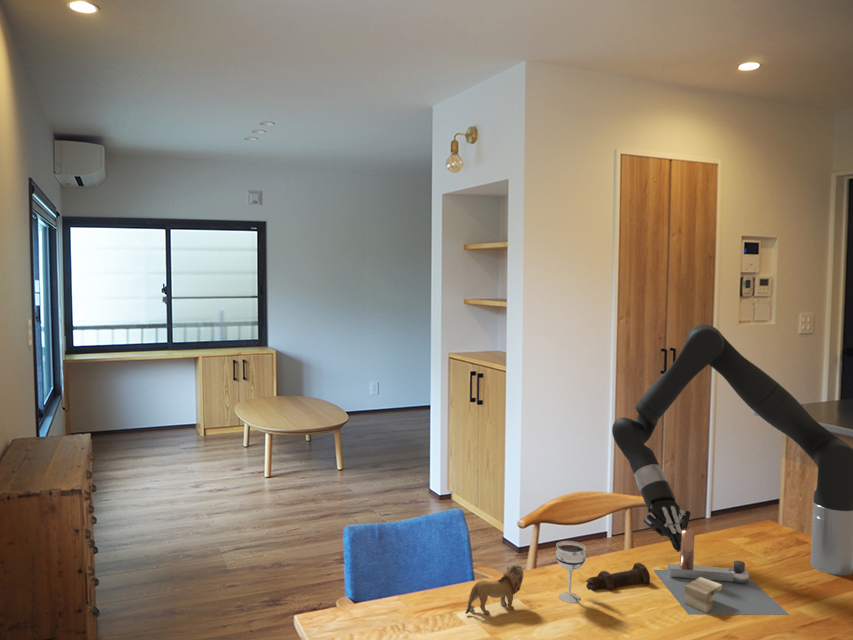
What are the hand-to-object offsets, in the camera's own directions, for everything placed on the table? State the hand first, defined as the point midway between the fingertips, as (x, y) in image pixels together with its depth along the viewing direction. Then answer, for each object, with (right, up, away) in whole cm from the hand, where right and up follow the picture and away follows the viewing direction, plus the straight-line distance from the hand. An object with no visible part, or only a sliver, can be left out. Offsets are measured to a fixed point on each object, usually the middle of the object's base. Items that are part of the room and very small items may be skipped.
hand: (681, 550), depth 166 cm
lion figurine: (-47, -8, -16) cm, 50 cm away
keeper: (-1, -7, -15) cm, 16 cm away
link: (+5, -6, -3) cm, 8 cm away
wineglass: (-30, -7, -11) cm, 32 cm away
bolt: (-18, -7, -6) cm, 20 cm away
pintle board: (+5, -8, -9) cm, 13 cm away
